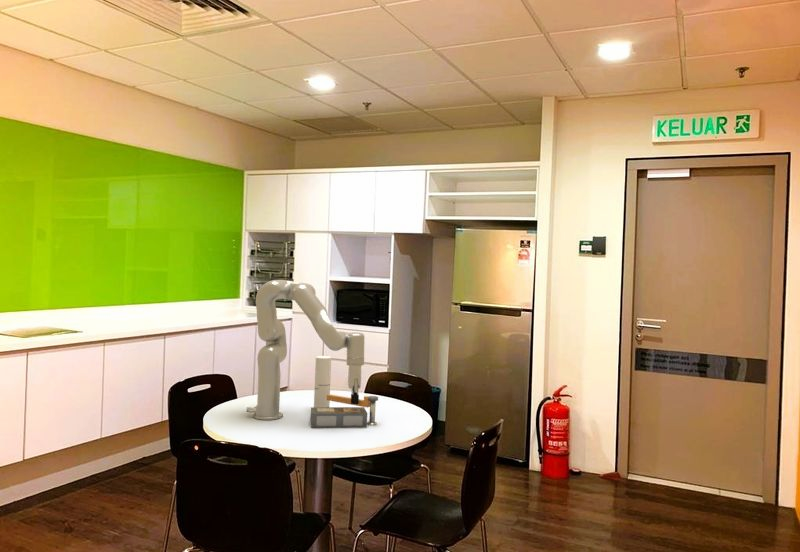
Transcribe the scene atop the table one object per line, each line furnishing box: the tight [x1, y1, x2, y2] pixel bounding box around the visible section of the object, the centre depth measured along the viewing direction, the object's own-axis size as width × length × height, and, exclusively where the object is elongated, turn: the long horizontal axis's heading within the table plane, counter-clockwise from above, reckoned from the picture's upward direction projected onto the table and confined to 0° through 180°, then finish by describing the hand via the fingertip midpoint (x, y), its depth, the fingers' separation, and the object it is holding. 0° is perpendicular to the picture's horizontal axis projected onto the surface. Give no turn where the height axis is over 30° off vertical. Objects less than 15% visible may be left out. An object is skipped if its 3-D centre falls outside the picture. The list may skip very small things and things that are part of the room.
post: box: [367, 401, 378, 426], centre depth 259 cm, size 4×4×10 cm
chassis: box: [310, 406, 368, 429], centre depth 256 cm, size 23×11×6 cm, turn 101°
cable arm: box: [327, 393, 379, 409], centre depth 265 cm, size 26×4×5 cm, turn 59°
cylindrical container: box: [313, 355, 332, 407], centre depth 279 cm, size 7×7×25 cm
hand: (354, 403), depth 261 cm, fingers closed
